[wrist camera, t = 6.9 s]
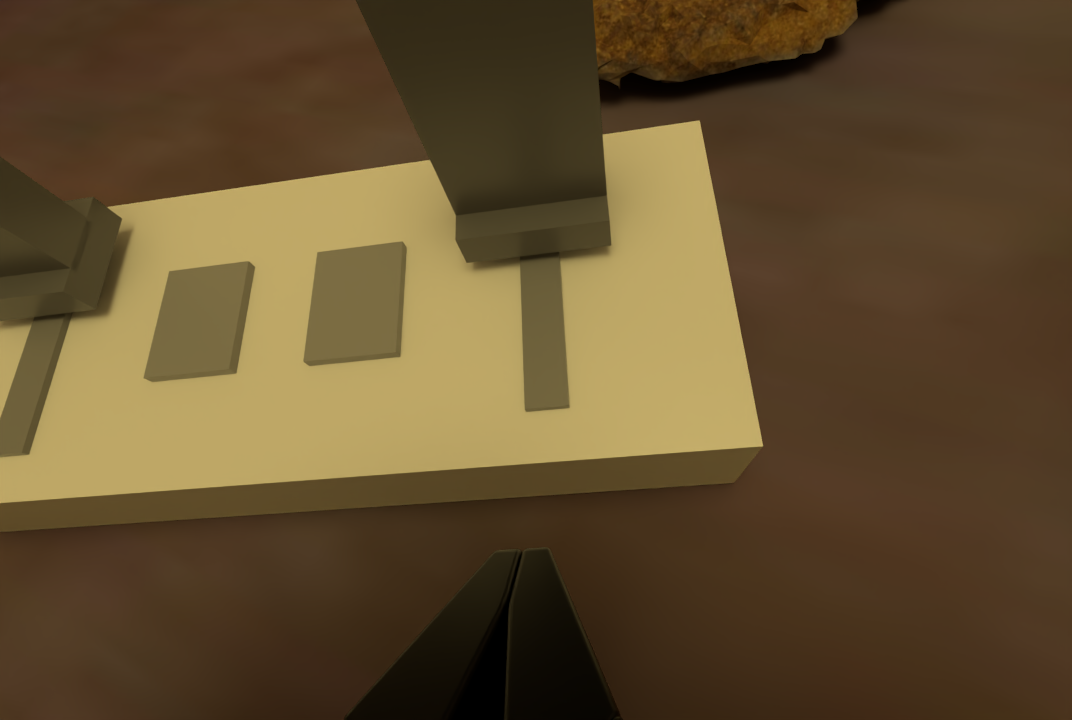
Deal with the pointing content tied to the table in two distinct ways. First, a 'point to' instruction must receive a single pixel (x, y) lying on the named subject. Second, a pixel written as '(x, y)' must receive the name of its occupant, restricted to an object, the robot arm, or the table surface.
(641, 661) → the table surface
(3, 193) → the switch
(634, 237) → the cream lever base
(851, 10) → the decorative rock
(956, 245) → the table surface
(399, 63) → the switch
